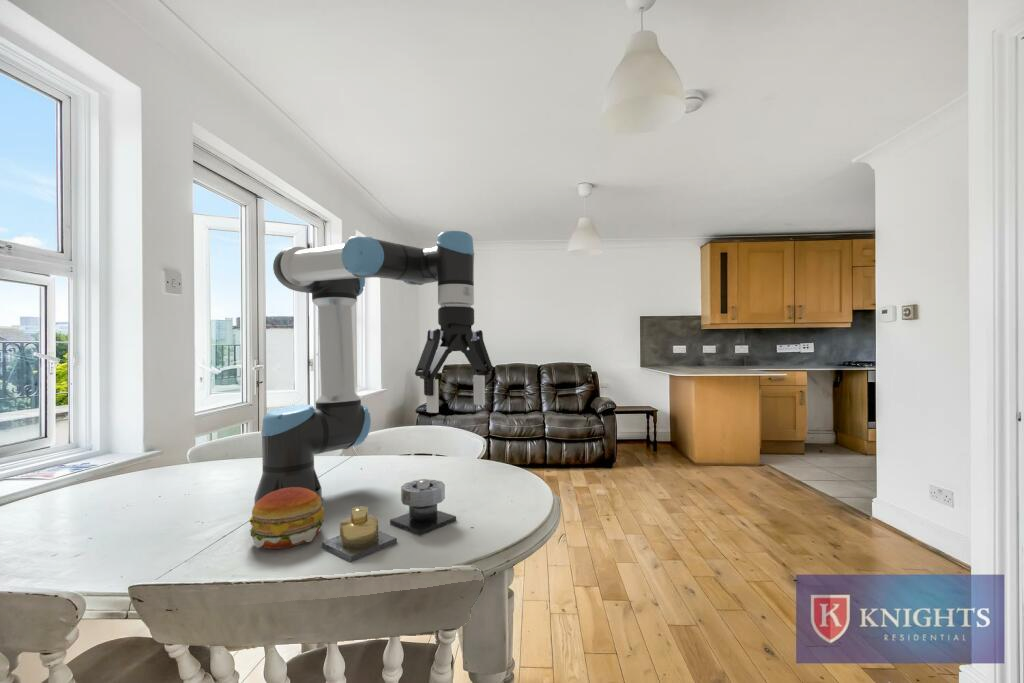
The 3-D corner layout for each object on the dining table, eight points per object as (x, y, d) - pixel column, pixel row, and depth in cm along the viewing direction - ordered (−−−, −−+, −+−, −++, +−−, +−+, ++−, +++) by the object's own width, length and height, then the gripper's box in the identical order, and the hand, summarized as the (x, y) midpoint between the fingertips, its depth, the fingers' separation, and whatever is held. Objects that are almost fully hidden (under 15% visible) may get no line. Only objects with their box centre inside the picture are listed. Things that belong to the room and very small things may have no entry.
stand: (390, 524, 99) (389, 482, 99) (425, 511, 107) (425, 472, 107) (420, 535, 92) (420, 491, 93) (456, 520, 100) (455, 479, 100)
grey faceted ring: (393, 500, 99) (393, 486, 99) (425, 490, 106) (425, 477, 106) (420, 509, 93) (420, 494, 93) (452, 498, 100) (452, 484, 100)
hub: (321, 547, 88) (321, 510, 88) (367, 530, 95) (366, 496, 96) (350, 562, 81) (350, 522, 82) (397, 543, 89) (396, 506, 89)
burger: (297, 522, 101) (297, 476, 101) (339, 534, 94) (339, 485, 94) (235, 545, 89) (235, 493, 90) (277, 560, 82) (276, 505, 83)
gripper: (421, 301, 84) (422, 417, 84) (507, 309, 103) (508, 403, 103) (396, 304, 89) (397, 414, 88) (482, 311, 108) (483, 401, 108)
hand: (457, 408), depth 96 cm, fingers open, 13 cm apart
